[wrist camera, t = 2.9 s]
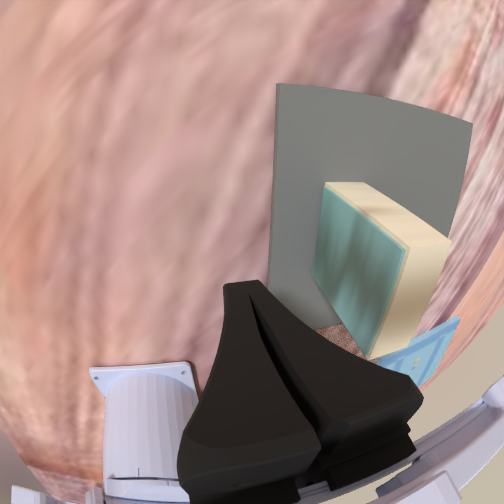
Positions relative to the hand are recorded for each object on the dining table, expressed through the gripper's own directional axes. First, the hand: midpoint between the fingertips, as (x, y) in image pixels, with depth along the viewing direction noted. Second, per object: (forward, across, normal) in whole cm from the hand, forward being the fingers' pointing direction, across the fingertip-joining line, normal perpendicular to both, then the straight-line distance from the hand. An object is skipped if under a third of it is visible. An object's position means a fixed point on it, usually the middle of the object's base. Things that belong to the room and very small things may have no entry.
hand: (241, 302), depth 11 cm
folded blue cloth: (+6, -22, +20) cm, 31 cm away
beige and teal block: (+5, -7, 0) cm, 8 cm away
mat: (+5, -10, 0) cm, 12 cm away
